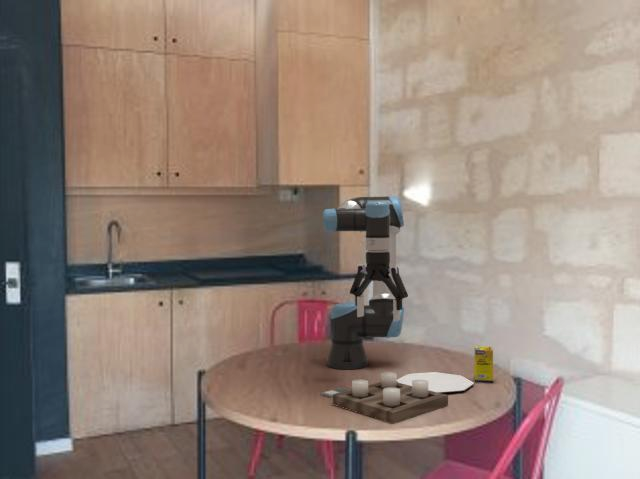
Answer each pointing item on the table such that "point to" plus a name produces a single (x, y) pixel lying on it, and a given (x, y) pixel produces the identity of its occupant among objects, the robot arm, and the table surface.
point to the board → (392, 414)
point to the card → (334, 391)
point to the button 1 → (360, 388)
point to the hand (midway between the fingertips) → (378, 318)
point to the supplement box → (483, 364)
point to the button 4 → (419, 388)
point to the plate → (439, 381)
